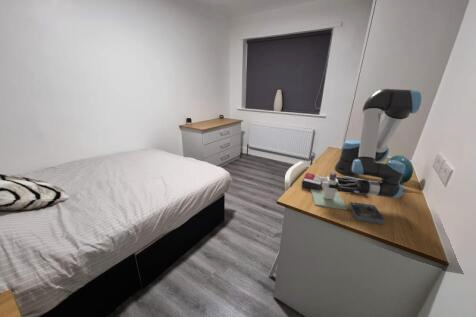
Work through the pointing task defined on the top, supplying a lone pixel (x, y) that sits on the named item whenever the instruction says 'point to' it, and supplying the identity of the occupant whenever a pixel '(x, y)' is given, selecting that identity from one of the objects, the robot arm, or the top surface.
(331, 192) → the plug
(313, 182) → the calculator
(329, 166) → the top surface
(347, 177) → the cassette
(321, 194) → the mat
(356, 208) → the socket
